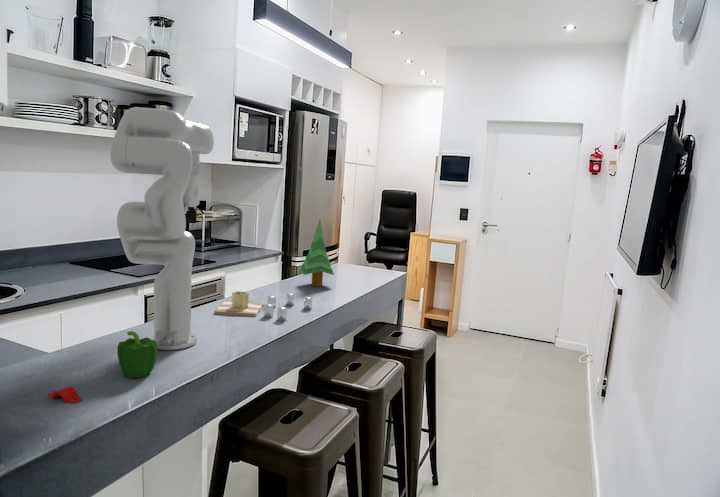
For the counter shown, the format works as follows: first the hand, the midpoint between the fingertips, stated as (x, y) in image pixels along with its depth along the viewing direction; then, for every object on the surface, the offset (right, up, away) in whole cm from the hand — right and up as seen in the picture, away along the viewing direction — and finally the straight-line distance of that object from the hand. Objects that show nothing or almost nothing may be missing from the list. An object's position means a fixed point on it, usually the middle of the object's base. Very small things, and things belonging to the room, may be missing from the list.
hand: (186, 224), depth 160 cm
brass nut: (+13, -28, +16) cm, 35 cm away
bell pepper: (+3, -37, -42) cm, 56 cm away
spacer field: (+29, -30, +17) cm, 45 cm away
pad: (+13, -29, +16) cm, 36 cm away
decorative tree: (+36, -24, +62) cm, 76 cm away
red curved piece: (-6, -39, -56) cm, 68 cm away
